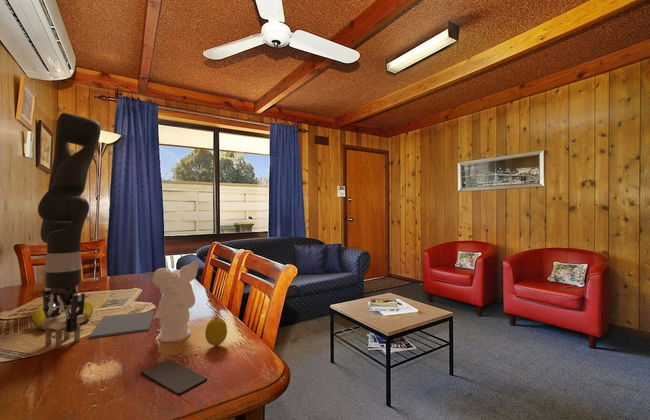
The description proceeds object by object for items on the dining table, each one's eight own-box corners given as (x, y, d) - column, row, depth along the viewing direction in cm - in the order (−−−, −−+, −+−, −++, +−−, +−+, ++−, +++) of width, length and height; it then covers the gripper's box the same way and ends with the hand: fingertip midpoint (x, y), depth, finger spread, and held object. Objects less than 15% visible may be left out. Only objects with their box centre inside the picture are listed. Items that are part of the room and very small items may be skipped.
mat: (103, 318, 103) (103, 316, 103) (154, 312, 110) (154, 310, 110) (88, 338, 87) (88, 336, 87) (149, 330, 93) (149, 328, 93)
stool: (41, 346, 82) (41, 319, 82) (68, 337, 88) (68, 312, 88) (56, 350, 80) (57, 323, 80) (83, 340, 86) (83, 315, 86)
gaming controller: (32, 325, 97) (31, 335, 89) (32, 308, 97) (31, 316, 89) (91, 315, 107) (95, 323, 99) (92, 299, 107) (95, 306, 99)
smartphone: (178, 394, 60) (139, 371, 69) (178, 398, 60) (139, 375, 69) (208, 378, 66) (169, 358, 74) (208, 382, 66) (169, 362, 74)
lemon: (214, 353, 79) (214, 322, 79) (200, 348, 82) (201, 318, 82) (231, 345, 83) (231, 316, 83) (217, 340, 86) (218, 312, 86)
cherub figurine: (150, 345, 83) (150, 264, 83) (157, 329, 95) (156, 258, 95) (199, 338, 88) (198, 261, 88) (199, 323, 99) (199, 255, 99)
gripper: (96, 268, 85) (95, 328, 85) (62, 264, 90) (62, 321, 90) (65, 273, 78) (64, 338, 78) (31, 269, 83) (30, 330, 83)
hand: (63, 329), depth 84 cm, fingers closed on stool, 6 cm apart
